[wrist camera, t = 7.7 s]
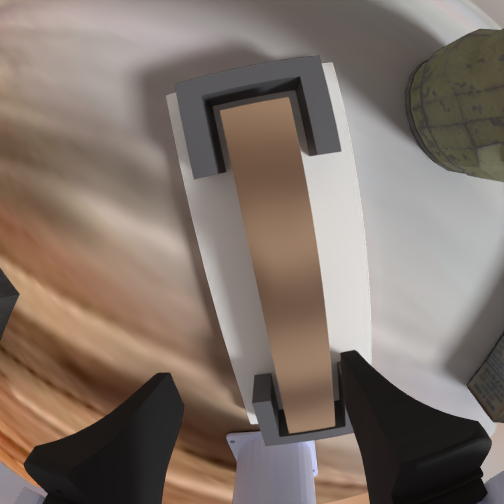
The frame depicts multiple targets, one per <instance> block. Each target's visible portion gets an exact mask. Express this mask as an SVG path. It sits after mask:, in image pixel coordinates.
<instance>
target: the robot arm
mask: <svg viewBox="0 0 504 504" xmlns="http://www.w3.org/2000/svg"><path fill="white" fill-rule="evenodd" d="M340 356H341V378H342V392H343V397H344V402H345V406H346V410H347V413H348V416H349V419H350V422H351V425H352V428H353V431H354V434H355V437H356V440H357V442H358V445H359V448H360V452H361V456H362V460H363V465H364V470H365V475H366V481H367V487H368V493H369V500H370V504H504V471H503V472H501V473H499V474H497V475H496V476H494V477H492V478H491V479H489V480H488V481H487V482H486V483H485V484H484V483H483V481H482V479H481V478H482V477H483V472H482V470H481V468H480V466H481V465H482V463H483V461H484V460H485V458H486V456H487V455H488V453H489V451H490V448H491V445H492V441H491V439H490V437H489V436H488V434H487V432H486V431H485V429H484V428H483V427H482V426H481V424H480V423H479V422H478V421H474V420H470V419H465V418H461V417H457V416H454V415H450V414H447V413H444V412H442V411H439V410H437V409H434V408H432V407H430V406H428V405H425V404H423V403H421V402H419V401H417V400H415V399H414V398H412V397H410V396H409V395H407V394H406V393H404V392H403V391H401V390H400V389H398V388H397V387H396V386H394V385H393V384H392V383H390V382H389V381H388V380H387V379H385V378H384V377H383V376H382V375H381V374H380V373H379V372H377V371H376V370H375V369H374V368H373V367H372V366H371V365H370V364H369V363H368V362H367V361H366V360H365V359H364V358H363V357H362V356H361V355H360V354H359V353H358V351H356V350H351V351H346V352H341V353H340ZM183 411H184V404H183V402H182V399H181V397H180V395H179V393H178V390H177V388H176V386H175V383H174V381H173V378H172V376H171V374H170V373H157V374H156V375H154V376H153V377H152V378H151V379H150V380H149V381H147V382H146V383H145V384H144V385H143V386H142V387H141V388H140V389H139V390H137V391H136V392H135V393H134V394H133V395H132V396H131V397H129V398H128V399H127V400H126V401H125V402H123V403H122V404H121V405H120V406H118V407H117V408H116V409H115V410H113V411H112V412H111V413H109V414H108V415H106V416H105V417H104V418H102V419H100V420H99V421H97V422H96V423H94V424H92V425H90V426H89V427H87V428H85V429H83V430H81V431H79V432H77V433H75V434H72V435H70V436H68V437H65V438H62V439H60V440H57V441H54V442H50V443H46V444H42V445H38V446H35V447H34V449H33V450H32V452H31V453H30V455H29V456H28V458H27V459H26V461H25V462H24V467H25V470H26V471H27V473H28V474H29V475H30V476H31V477H32V478H33V479H34V480H35V481H36V482H37V483H38V484H39V485H40V486H41V487H42V488H43V489H44V490H45V491H46V492H47V493H48V495H47V496H46V498H45V497H43V496H42V495H40V494H38V493H36V492H34V491H32V490H30V489H28V488H26V487H24V488H23V489H22V491H21V493H20V494H19V496H18V498H17V499H16V501H15V502H14V504H161V503H162V496H163V488H164V482H165V477H166V471H167V468H168V464H169V461H170V458H171V455H172V452H173V448H174V445H175V442H176V439H177V436H178V433H179V430H180V427H181V423H182V417H183ZM226 439H227V441H228V444H229V446H230V448H231V450H232V452H233V455H234V457H235V459H236V461H237V468H236V476H235V484H234V492H233V500H232V504H316V498H315V486H314V477H315V476H317V475H318V469H317V461H316V452H315V444H314V440H313V441H306V442H299V443H291V444H283V445H274V446H265V443H264V440H263V437H262V434H261V431H256V432H243V433H229V434H227V437H226ZM232 440H233V441H232Z"/></svg>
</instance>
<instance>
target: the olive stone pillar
mask: <svg viewBox="0 0 504 504" xmlns="http://www.w3.org/2000/svg"><path fill="white" fill-rule="evenodd" d="M405 94H406V113H407V116H408V120H409V123H410V127H411V131H412V132H413V134H414V136H415V138H416V140H417V141H418V143H419V145H420V147H421V149H422V150H423V151H424V152H425V153H426V154H427V155H428V156H429V157H430V158H431V159H432V160H433V162H435V163H436V164H438V165H440V166H441V167H443V168H445V169H446V170H448V171H453V172H458V173H464V174H467V175H469V176H474V177H478V178H483V179H489V180H495V181H501V182H504V29H502V30H491V29H478V30H476V31H474V32H471V33H469V34H467V35H465V36H463V37H461V38H459V39H458V40H456V41H454V42H452V43H450V44H449V45H447V46H445V47H443V48H442V49H440V50H438V51H437V52H435V53H434V54H433V55H432V57H431V58H430V59H429V60H427V61H425V62H423V63H421V64H419V65H418V66H417V68H416V69H415V70H414V72H413V73H412V74H411V76H410V78H409V81H408V85H407V89H406V92H405Z"/></svg>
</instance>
